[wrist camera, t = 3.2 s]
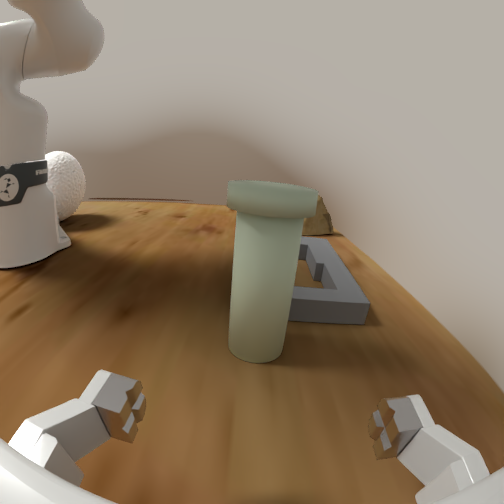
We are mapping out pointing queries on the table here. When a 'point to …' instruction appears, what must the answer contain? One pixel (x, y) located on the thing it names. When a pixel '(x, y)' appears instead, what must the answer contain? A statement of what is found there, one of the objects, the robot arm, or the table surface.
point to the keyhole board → (327, 288)
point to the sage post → (264, 263)
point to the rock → (318, 221)
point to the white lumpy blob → (65, 182)
